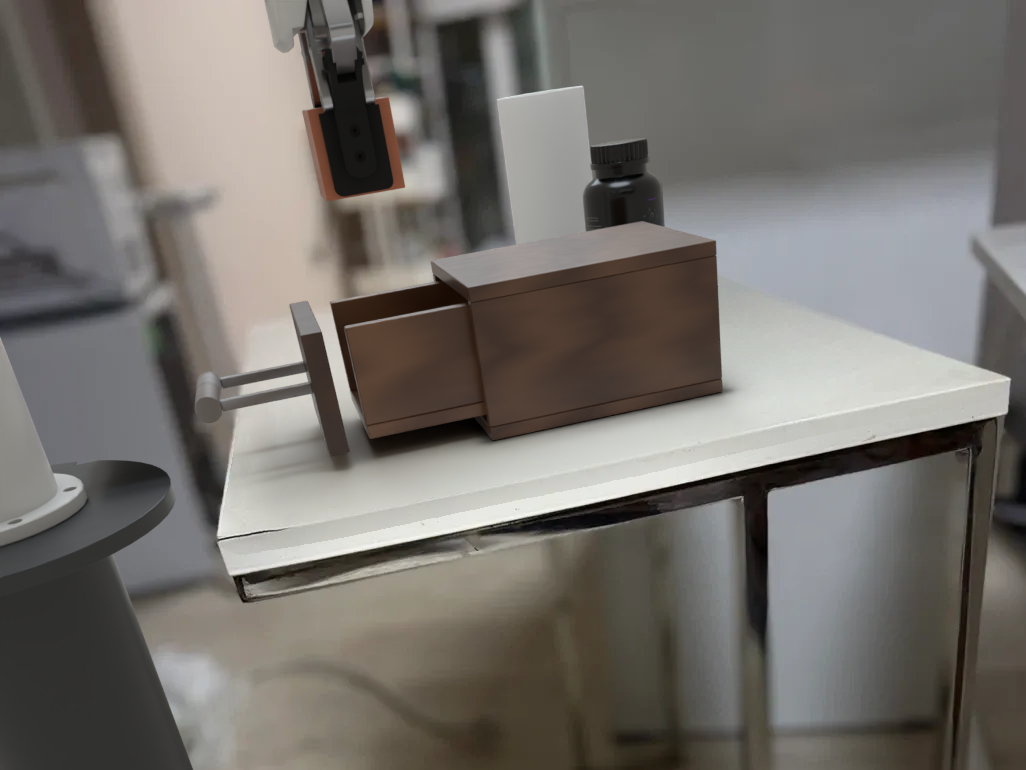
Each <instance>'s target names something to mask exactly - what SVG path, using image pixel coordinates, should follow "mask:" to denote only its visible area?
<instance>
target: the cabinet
mask: <svg viewBox="0 0 1026 770" xmlns="http://www.w3.org/2000/svg"><path fill="white" fill-rule="evenodd" d="M717 257H718V256H717V240H715V239H711V238H708V237H705V236H700V235H697V234H693V233H689V232H685V231H682V230H677V229H673V228H670V227H667V226H665V227H663V226H659V225H655V224H651V223H647V222H644V221H641V222H635V223H630V224H624V225H619V226H614V227H608V228H603V229H598V230H592V231H587V232H581V233H576V234H571V235H565V236H560V237H555V238H549V239H544V240H538V241H533V242H528V243H522V244H517V245H516V244H512V245H511V244H510V245H507V246H501V247H496V248H491V249H486V250H480V251H475V252H474V251H473V252H469V253H462V254H459V255H453V256H447V257H442V258H437V259H432V260H430V266H431V273H432V279H433V282H435V281H441V280H442V281H443V282H445V283H446V284H447V285H449V286H450V287H451V288H453V289H454V290H455V291H456V292H458V293H459V294H460V295H462V296H463V297H464V298H465V299H467V300H468V305H469V312H470V318H471V324H472V330H473V336H474V342H475V349H476V355H477V361H478V367H479V373H480V379H481V386H482V392H483V398H484V404H485V410H486V415H483V416H478V417H473V418H474V419H475V421H476V422H477V423H478V424H479V425H480V427H481V428H482V430H483V431H484V432H485V433H486V434H487V435H488V437H489V438H490V439H491V440H492V441H497V440H501V439H506V438H511V437H515V436H520V435H525V434H529V433H534V432H540V431H544V430H549V429H554V428H558V427H563V426H568V425H572V424H577V423H582V422H586V421H591V420H595V419H600V418H605V417H609V416H615V415H619V414H624V413H628V412H634V411H638V410H642V409H643V410H644V409H647V408H652V407H656V406H660V405H666V404H671V403H676V402H681V401H684V400H689V399H694V398H699V397H703V396H708V395H709V396H710V395H713V394H718V393H722V392H724V391H723V390H724V389H723V369H722V368H723V367H722V346H721V345H722V344H721V323H720V302H719V278H718V263H717V262H718V259H717Z"/></svg>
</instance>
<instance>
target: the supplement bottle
mask: <svg viewBox="0 0 1026 770" xmlns="http://www.w3.org/2000/svg"><path fill="white" fill-rule="evenodd" d="M648 145H649V144H648V138H646V137H635V138H626V139H618V140H612V141H606V142H601V143H596V144H592V145H589V146H590V156H591V164H590V166H591V170H592V171H593V173H594V178H593V180H592V181H591V182H590V183H589V184H588V185H587V186H586V188H585V190H584V192H583V208H584V219H585V229H586V232H587V231H592V230H598V229H603V228H608V227H614V226H619V225H624V224H630V223H635V222H641V221H644V222H647V223H651V224H655V225H659V226H663V227H666V226H665V225H666V224H665V209H664V207H665V206H664V192H663V191H664V190H663V185H662V182H661V180H660V179H659V177H658V176H657V175H656V174H654V173H653V172H651V171H649V170H648V166H647V164H648V163H650V161H651V160H650V156H649V146H648Z"/></svg>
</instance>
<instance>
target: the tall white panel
mask: <svg viewBox="0 0 1026 770" xmlns="http://www.w3.org/2000/svg"><path fill="white" fill-rule="evenodd" d="M496 106H497V113H498V122H499V128H500V137H501V145H502V150H503V151H502V152H503V157H504V158H503V159H504V166H505V173H506V180H507V181H506V182H507V188H508V195H509V203H510V209H511V210H510V211H511V217H512V225H513V232H514V240H515V245H517V244H522V243H528V242H533V241H538V240H544V239H549V238H555V237H560V236H565V235H571V234H576V233H581V232H586V229H585V219H584V208H583V192H584V190H585V188H586V186H587V185H588V184H589V183H590V182H591V181H592V180H593V179H594V178H593V170H591V166H590V164H591V153H590V146H591V145H590V136H589V126H588V116H587V105H586V96H585V88H584V85H578V86H577V85H576V86H568V87H561V88H555V89H554V88H553V89H548V90H547V89H546V90H542V91H534V92H528V93H522V94H517V95H511V96H506V97H501V98H497V99H496Z"/></svg>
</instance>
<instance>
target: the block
mask: <svg viewBox="0 0 1026 770" xmlns="http://www.w3.org/2000/svg"><path fill="white" fill-rule="evenodd" d="M375 102H376V104H379V107H380V112H381V117H382V123H383V128H384V133H385V139H386V144H387V149H388V154H389V160H390V165H391V170H392V176H393V185H392V187H390V188H389V189H384V190H379V191H373V192H367V193H362V194H356V195H351V196H345V197H342V196H339V195H338V194H337V193H336V192H335V189H334V184H333V180H332V175H331V170H330V166H329V161H328V157H327V152H326V147H325V143H324V138H323V133H322V129H321V124H320V120H319V115H318V114H322V113H324V111H323V108H322V107H319V108H313V107H312V108H307V109H302V111H301V114H302V117H303V123H304V127H305V131H306V136H307V140H308V144H309V149H310V153H311V158H312V162H313V167H314V171H315V176H316V180H317V184H318V188H319V194H320V196H321V197H322V198H323V199H324V200H325V201H326V202H333V201H337V200H343V199H350V198H354V197H355V198H356V197H361V196H366V195H373V194H378V193H382V192H383V193H385V192H389V191H395V190H399V189H405V188H406V184H405V179H404V172H403V167H402V161H401V155H400V150H399V144H398V139H397V134H396V128H395V124H394V119H393V113H392V108H391V103H390V97H389V96H381V97H375ZM376 104H375V105H376Z"/></svg>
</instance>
